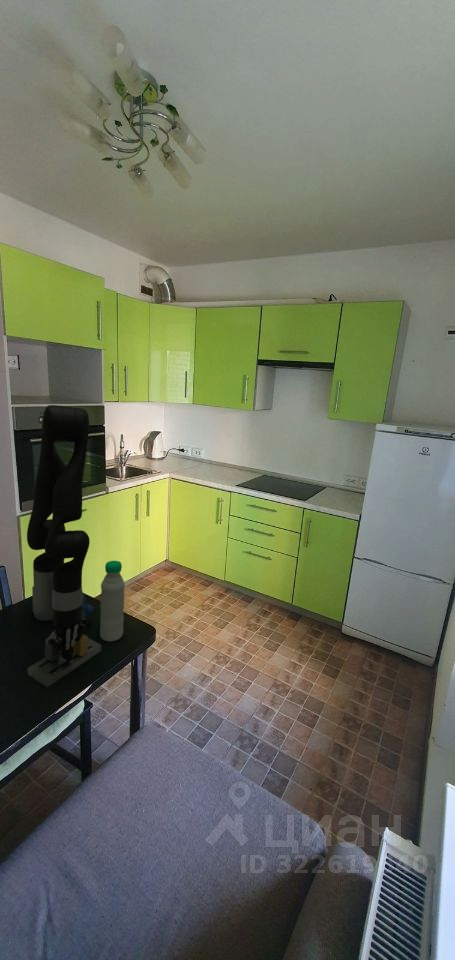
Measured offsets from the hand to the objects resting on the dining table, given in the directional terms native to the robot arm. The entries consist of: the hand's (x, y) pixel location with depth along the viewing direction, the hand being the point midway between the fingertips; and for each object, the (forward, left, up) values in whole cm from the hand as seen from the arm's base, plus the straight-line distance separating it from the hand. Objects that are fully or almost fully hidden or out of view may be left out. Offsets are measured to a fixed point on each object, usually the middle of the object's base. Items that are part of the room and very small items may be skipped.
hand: (67, 658), depth 107 cm
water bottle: (-1, +17, -3) cm, 18 cm away
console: (-2, +1, -3) cm, 4 cm away
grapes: (-12, +15, -3) cm, 20 cm away
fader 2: (0, +4, -1) cm, 4 cm away
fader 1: (-4, -2, -1) cm, 4 cm away
